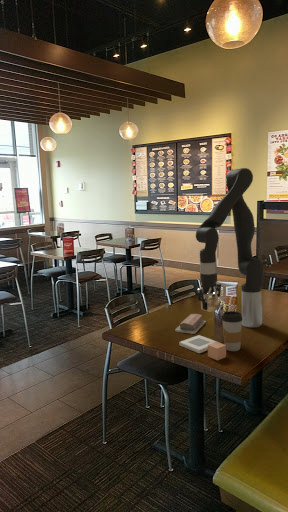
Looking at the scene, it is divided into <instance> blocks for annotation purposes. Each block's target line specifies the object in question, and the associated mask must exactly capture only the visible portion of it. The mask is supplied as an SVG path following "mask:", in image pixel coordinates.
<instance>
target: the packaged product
mask: <svg viewBox="0 0 288 512" xmlns="http://www.w3.org/2000/svg"><path fill="white" fill-rule="evenodd" d="M206 323H207V320H203V314H200V313H199V314H198V313H190V314H189V315H188V316H187V317H185V319H183V320H182V321H181V322H180V324H179V326H177V327H176V328H175V330H174V331H175V332H176V333H182V334H190V335H196V334H197V332H198V331H199V330H200V329H201V328H202V327H203V326H204V325H205V324H206Z"/></svg>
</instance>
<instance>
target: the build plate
mask: <svg viewBox="0 0 288 512" xmlns="http://www.w3.org/2000/svg"><path fill="white" fill-rule="evenodd" d="M214 342H218V341H216V340H213V339H211V338H209V337H206V336H202V335H200V334H198V335H195V336H192V337H189V338H187V339H184V340H181V341H179V342H178V343H179V346H180V347H182V348H185V349H186V350H190V351H193V352H194V353H197V354H201V353H204V352H206V351H207V352H208V345H209V344H212V343H214Z"/></svg>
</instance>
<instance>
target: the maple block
mask: <svg viewBox="0 0 288 512" xmlns="http://www.w3.org/2000/svg"><path fill="white" fill-rule="evenodd" d="M204 299H205V298H204ZM200 306H201V307H200V308H201V310H202V311H205V312H208V313H212V312H215V311H218V310H220V308H219V307H220V306H219V297H214V296H211V295H209V297H208V299H207V310H203V308H202V301H200Z"/></svg>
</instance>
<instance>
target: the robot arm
mask: <svg viewBox="0 0 288 512" xmlns="http://www.w3.org/2000/svg"><path fill="white" fill-rule="evenodd" d="M253 179H254V175H253V172H252V170H250V169H249V168H246V167H242V168H235V169H231V170H229V171H228V172H227V174H226V177H225V181H226V182H225V183H226V188H227V193H226V195H224V196H223V197H222V198H221V199H220V200H219V201H218V202H217V203H216V204H215V206H214V207H213V208H212V210H211V213H210V214H209V216H208V217H207V218H206V219H205V220H204V221H203V222H202V223H201V224H200V225H199V227H198V228H197V230H196V231H195V239H196V241H197V242H199V243H201V244H205V246H204V248H202V249H200V251H199V274H200V275H199V279H200V283H201V287H198V288H196V296H197V300H198V301H199V302H201V301H202V308H203V310H202V311H204V310H207V299H208V297H209V296H214V297H218V298H219V297H221V293H222V292H221V291H222V284H221V283H217V282H218V268H217V267H218V266H217V257H216V256H217V253H216V252H217V248H218V243H219V238H220V237H219V232H218V230H217V228H220V227H222V226H223V224H224V222H225V220H226V219H227V217H228V216H229V214H230V212H231V211H232V218H233V227H234V228H233V229H234V233H235V242H236V247H237V249H236V250H237V267H238V271H239V272H240V274H241V275H244V276H245V282H244V283H242V284H241V289H240V290H241V316H242V327H245V328H260V327H261V326H262V324H263V304H262V287H263V285H264V272H265V270H264V268H265V267H264V264H263V261H262V260H261V259H259V258H255V257H253V252H252V241H253V240H254V239H253V238H254V235H255V229H256V228H255V219H254V215H253V212H252V211H251V209H250V207H249V206H248V204H247V202H246V201H245V199H244V196H243V194H245V193H246V192H247V190H248V189H249V188H250V186H251V185H252V183H253V181H254V180H253ZM204 298H205V299H204Z"/></svg>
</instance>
